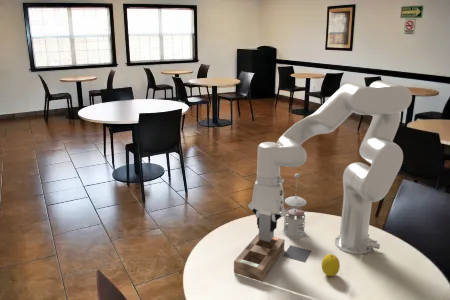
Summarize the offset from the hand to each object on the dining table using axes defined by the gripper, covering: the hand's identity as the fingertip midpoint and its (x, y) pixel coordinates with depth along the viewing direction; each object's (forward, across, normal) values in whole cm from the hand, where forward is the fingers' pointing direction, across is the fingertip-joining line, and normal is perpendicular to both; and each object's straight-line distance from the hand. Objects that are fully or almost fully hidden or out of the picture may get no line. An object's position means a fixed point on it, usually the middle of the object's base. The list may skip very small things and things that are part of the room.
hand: (266, 228), depth 131 cm
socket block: (+10, 0, +5) cm, 12 cm away
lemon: (+11, -23, +2) cm, 25 cm away
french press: (+11, -4, -19) cm, 22 cm away
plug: (+4, 0, 0) cm, 4 cm away
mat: (+10, -10, -5) cm, 15 cm away
